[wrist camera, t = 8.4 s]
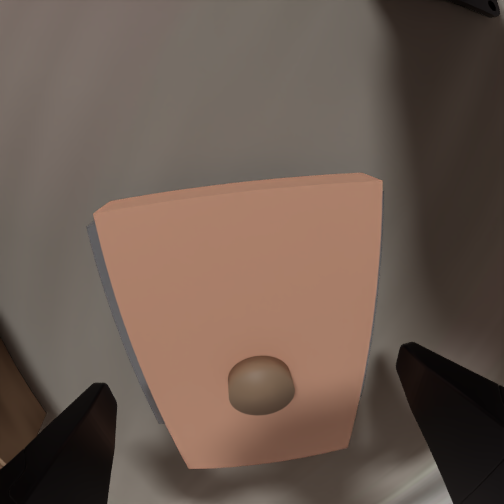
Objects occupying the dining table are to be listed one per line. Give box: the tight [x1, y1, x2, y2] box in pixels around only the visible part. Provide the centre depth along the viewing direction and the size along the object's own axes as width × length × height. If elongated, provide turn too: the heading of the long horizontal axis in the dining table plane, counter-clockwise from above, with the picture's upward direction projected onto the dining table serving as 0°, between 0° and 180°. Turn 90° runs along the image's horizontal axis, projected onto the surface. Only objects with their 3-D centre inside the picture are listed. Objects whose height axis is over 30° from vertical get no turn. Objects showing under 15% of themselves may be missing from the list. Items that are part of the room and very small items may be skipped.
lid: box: [93, 173, 382, 469], centre depth 9 cm, size 11×7×3 cm, turn 5°
